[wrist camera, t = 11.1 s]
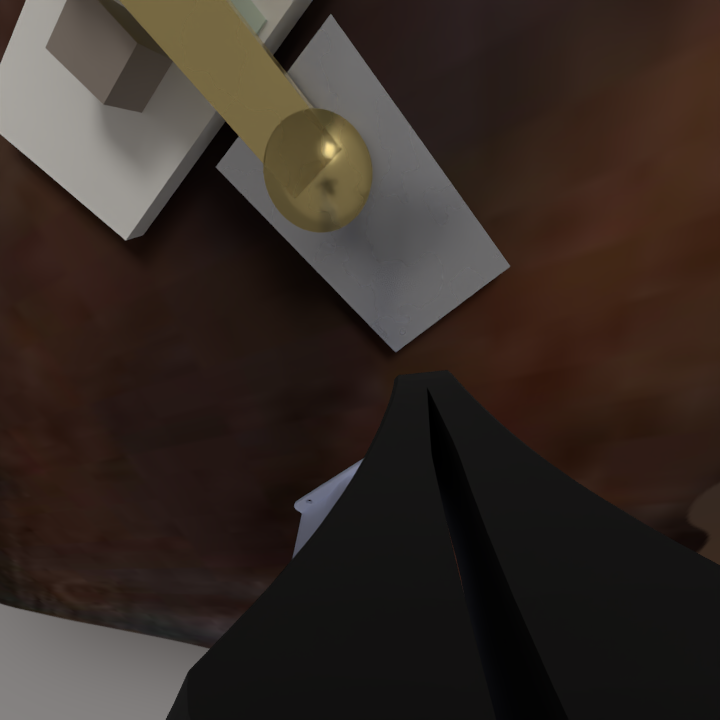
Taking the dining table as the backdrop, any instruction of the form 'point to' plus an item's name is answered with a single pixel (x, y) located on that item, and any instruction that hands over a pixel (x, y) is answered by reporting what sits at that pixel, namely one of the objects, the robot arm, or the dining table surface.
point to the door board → (108, 133)
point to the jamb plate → (380, 206)
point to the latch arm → (265, 110)
